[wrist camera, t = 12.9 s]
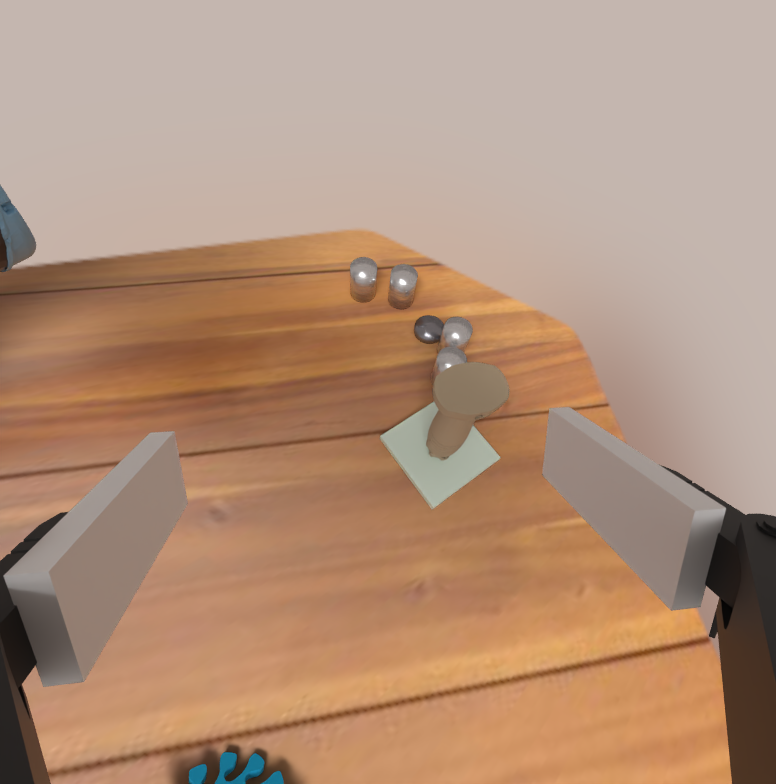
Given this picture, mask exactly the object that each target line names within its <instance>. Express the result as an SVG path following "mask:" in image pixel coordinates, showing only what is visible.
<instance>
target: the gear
mask: <svg viewBox="0 0 776 784" xmlns="http://www.w3.org/2000/svg"><path fill="white" fill-rule="evenodd" d="M236 760H237V754H235V753H232V752H224V753H223V754H222V755H221V758H220V773H219V776H218V778H217V780H216V782H215V784H246V783H245V782H246V781H247V780H248V779H249V778H253V777H257V776H259V775H260V774H261V773H262V772H263V770H264V763H265V762H264V760H263V759H262V757H260V756H259V755H258V754H256V753H255V754H253V755H252V756H251V757H250V759H249V762H248V764H247V766H246V768H245V770H244V771H243V772H242V773H241V774H240V775H239V776H238V777H237V778H236V779H234V780H233V781H230V782H228V781H226V780H225V777H226V776H227V775H228V774H230V773H231V772H232V771H233V770H234V769H235V767H236ZM206 775H207V767H206V765H205V764H201V765H198V766H196V767H194V768H192V769H191V770H190V772H189V784H204V782H205V780H206ZM261 784H284V781H283V777H282V774H281V772H280V771H276V772H274V773H273V774H272V775H271V776H270V777H269V778H268V779H267V780H266V781H265V782H263V783H261Z"/></svg>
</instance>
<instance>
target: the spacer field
mask: <svg viewBox="0 0 776 784" xmlns="http://www.w3.org/2000/svg"><path fill="white" fill-rule="evenodd" d="M417 277H418V274H417V271H416V270H415V269H414V268H413V267H412V266H410V265H406V264H401V265H397V266H395V267H394V268H393V269H392V271H391V277H390V286H389V295H388V301H389V303H390V305H391V306H393V307H394V308H397V309H406V308H408V307H410V306H411V304H412V302H413V297H414V292H415V287H416V282H417ZM376 278H377V265H376V263H375V262H374V261H373V260H372V259H370V258H366V257H360V258H357V259H355V260H353V261H352V263H351V266H350V290H351V296H352V298H353V299H354V300H356V301H358V302H369V301H371V300H372V299H373V298H374V297H375V291H376ZM472 331H473V329H472V326H471V324H470V323H469V321H467V320H466V319H464V318H462V317H452V318H450V319H448V320H447V321H446V323H445V325H444V328H443V331H442V334H441V337H440V340H439V344H438V347H437V352H438V356H437V359H436V362H435V365H434V368H433V371H432V374H431V383H432V385H433V384H434V381H435V378H436V376H437V375H439V374H440V373H441V372H443V371H444V370H446V369H447V368H449V367H451V366H453V365H457V364H462V363H467V358H466V355H465V354H464V351H465V348H466V346H467V344H468V341H469V339H470V337H471V334H472Z"/></svg>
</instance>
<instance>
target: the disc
mask: <svg viewBox="0 0 776 784" xmlns="http://www.w3.org/2000/svg"><path fill="white" fill-rule="evenodd" d="M443 328H444V324H443V322H442V321H441V320H440V319H439V318H437V317H435V316H430V315H427V316H422V317H420V318H419V319H418V320H417V321H416V323H415V328H414V333H415V336H416V337H417V339H418V340H420V341H421V342H423V343H427V344H434V343H437V342H438V341H439V340H440V337H441V334H442V331H443Z"/></svg>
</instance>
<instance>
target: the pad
mask: <svg viewBox="0 0 776 784" xmlns="http://www.w3.org/2000/svg"><path fill="white" fill-rule="evenodd" d="M437 412H438V408H437V406H436V404H435V402H432V403H431V404H429V405H428V406H426V407H425V408H423V409H421V410H420V411H418V412H417V413H415V414H414V415H412V416H411V417H409V418H407V419H406V420H404V421H403V422H401V423H400V424H398V425H396V426H395V427H393V428H392V429H390V430H389V431H387V432H386V433H384V434H382V435H381V436H380V440H381V441H382V443H383V444H384V445H385V447H386V448H387V449H388V451H389V452H390V454H391V455H392V456H393V458H394V459H395V460H396V462H397V463H398V464H399V466H400V467H401V468H402V470H403V471H404V472H405V474H406V475H407V477H408V478H409V479H410V481H411V482H412V483H413V485H414V486H415V487H416V489H417V490H418V491H419V493H420V494H421V495H422V497H423V498H424V500H425V501H426V502H427V504H428V505H429V506H430V508H431V509H434V508H435V507H437V506H438V505H439V504H441V503H442V502H443V501H445V500H446V499H447V498H449V497H450V496H451V495H453V494H454V493H455V492H457V491H458V490H459V489H461V488H462V487H463V486H465V485H466V484H467V483H469V482H470V481H471V480H473V479H474V478H475V477H477V476H478V475H479V474H481V473H482V472H483V471H485V470H486V469H487V468H489V467H490V466H491V465H493V464H494V463H495V462H497V461H498V460H499V459H500V458H501V457H500V456H499V455H498V454H497V453H496V452H495V450H494V449H493V448H492V447H491V446H490V444H489V443H488V442H487V441H486V440H485V438H484V437H483V436H482V435H481V434H480V433H479V431H478V430H477V429H476V428H475V427H474V425H473V426H472V428H471V431H470V433H469V435H468V437H467V439H466V440H465V442H464V443H463V445H462V446H461V447H460V448H459V449H458V450H457V451H456V452H455V453H454V454H452V455H450V456H449V458H448V459H446V460H443V461H442V460H440V459H439V458H436V457H431V456H430V455H429V449H428V447H427V446H426V441H427V436H428V431H429V428H430V425H431V423H432V420H433V419H434V417H435V415H436V414H437Z"/></svg>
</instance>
